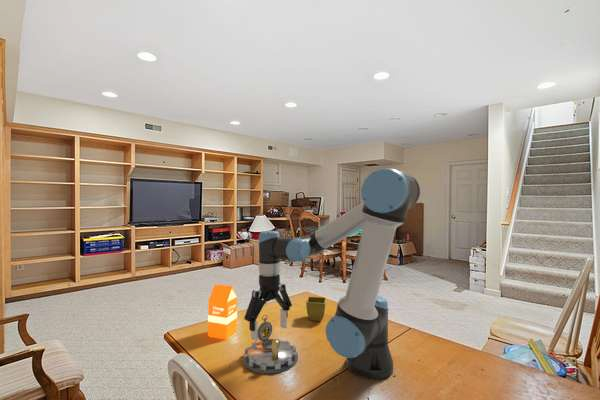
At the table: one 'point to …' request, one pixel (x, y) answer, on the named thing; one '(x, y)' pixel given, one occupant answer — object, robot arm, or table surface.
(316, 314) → the flower pot
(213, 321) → the orange juice
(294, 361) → the base plate
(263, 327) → the pocket watch
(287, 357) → the sprocket
